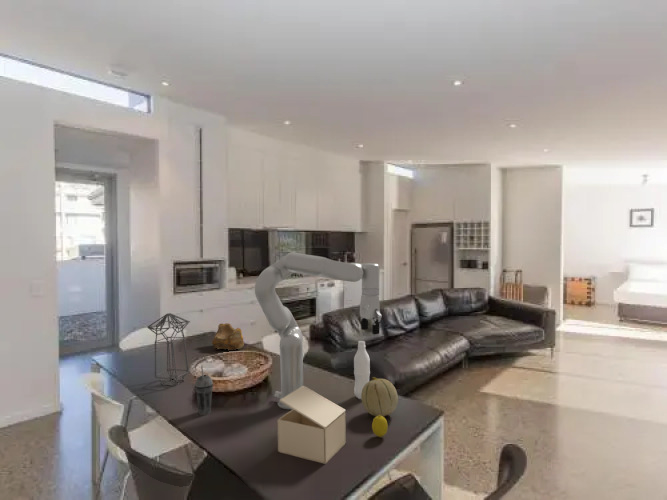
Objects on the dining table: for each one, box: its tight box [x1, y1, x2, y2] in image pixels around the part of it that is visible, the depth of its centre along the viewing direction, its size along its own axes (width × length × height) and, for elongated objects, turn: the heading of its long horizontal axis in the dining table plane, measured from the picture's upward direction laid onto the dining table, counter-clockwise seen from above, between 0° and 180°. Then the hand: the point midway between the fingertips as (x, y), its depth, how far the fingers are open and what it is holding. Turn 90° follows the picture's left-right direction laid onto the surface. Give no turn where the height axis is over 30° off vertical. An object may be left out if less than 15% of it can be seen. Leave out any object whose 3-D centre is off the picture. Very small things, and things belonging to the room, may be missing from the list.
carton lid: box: [280, 384, 346, 429], centre depth 149 cm, size 18×15×1 cm
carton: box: [276, 409, 347, 465], centre depth 150 cm, size 18×15×11 cm
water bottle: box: [353, 340, 371, 400], centre depth 196 cm, size 7×7×25 cm
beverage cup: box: [194, 365, 214, 416], centre depth 181 cm, size 7×7×20 cm
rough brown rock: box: [211, 322, 245, 351], centre depth 284 cm, size 23×17×15 cm
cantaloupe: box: [360, 376, 399, 417], centre depth 176 cm, size 15×15×15 cm
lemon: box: [371, 415, 389, 438], centre depth 157 cm, size 6×6×8 cm
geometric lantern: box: [147, 312, 191, 385], centre depth 219 cm, size 16×16×35 cm
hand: (370, 331), depth 190 cm, fingers open, 9 cm apart
